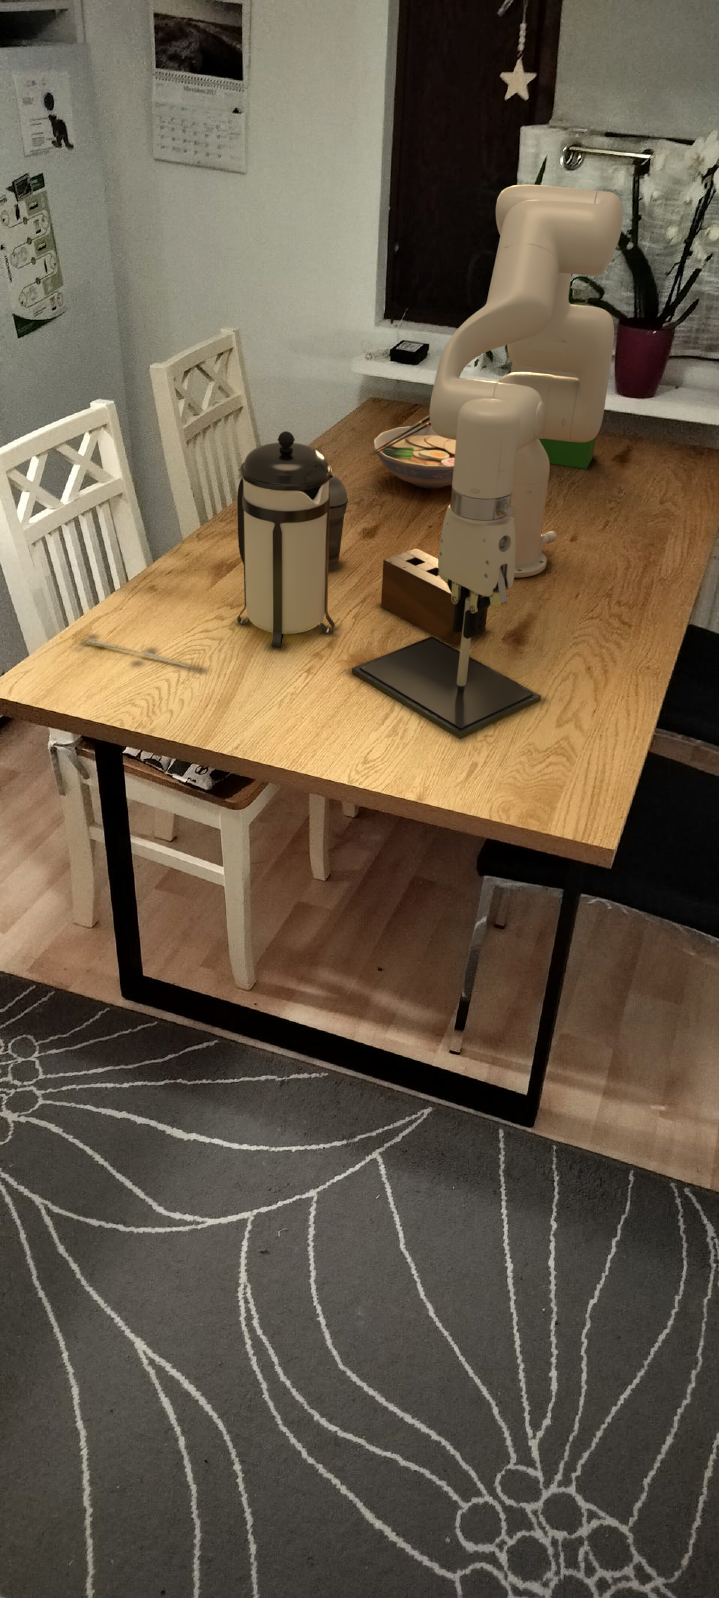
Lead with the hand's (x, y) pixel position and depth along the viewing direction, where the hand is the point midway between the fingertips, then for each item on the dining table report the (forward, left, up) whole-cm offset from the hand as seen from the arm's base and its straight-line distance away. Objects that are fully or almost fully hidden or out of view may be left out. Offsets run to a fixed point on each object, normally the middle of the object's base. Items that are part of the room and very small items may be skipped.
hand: (467, 631), depth 160 cm
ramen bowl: (-53, -61, -10) cm, 82 cm away
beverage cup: (-12, -44, -10) cm, 47 cm away
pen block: (-13, -19, -10) cm, 25 cm away
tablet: (0, -3, -10) cm, 11 cm away
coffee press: (+7, -32, -10) cm, 35 cm away
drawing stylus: (0, 0, -9) cm, 9 cm away
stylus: (+29, -36, -10) cm, 47 cm away
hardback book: (-83, -57, -10) cm, 101 cm away
